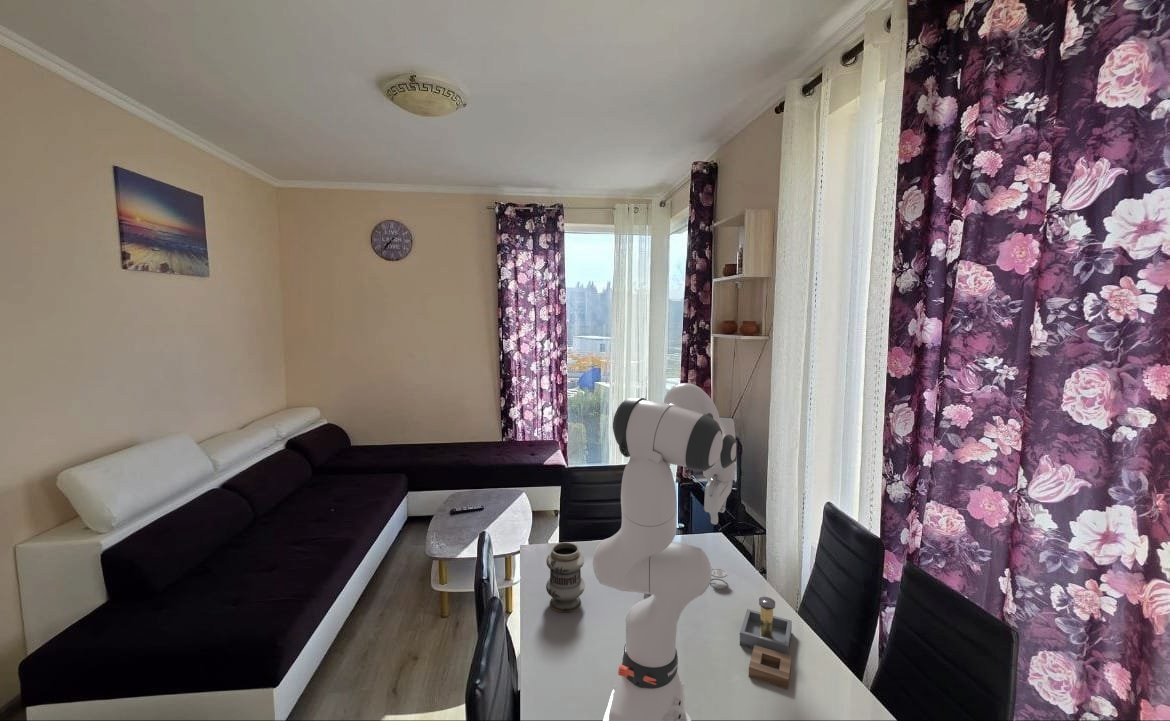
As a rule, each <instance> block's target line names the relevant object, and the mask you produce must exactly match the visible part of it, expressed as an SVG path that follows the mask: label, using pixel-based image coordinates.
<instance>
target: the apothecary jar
mask: <svg viewBox="0 0 1170 721" xmlns="http://www.w3.org/2000/svg"><path fill="white" fill-rule="evenodd" d="M545 561H546V566H547V567H548V569H549V573H550V574H549V576H550V577H549V578H548V580H547V582H546V584H545V585H546V586H545V588H546V592H547V594H548V595H549V597H551V599H550V601H549V606H550V608H551V609H552V610H553V611H555V612H558V613H566V612H568V613H572V612H575V611H577V610H578V609H580V608H581V606H582V600H581V598H580V596H581V595H582V594H583V593H584V591H585V589H586V585H585V581H584V578H582V576H581V574H582V573H581V568H582V567H583V566H584V565H585V564H584V563H585V556H584V555H583V553H582V552H581V551H580V548H579V546H578V544H576V543H573V542H571V541H570V542H568V541H566V542H565V541H564V542H559V543H557V544H554V545H553V546H552V548H551V550H550V553H548V555H547V557H546V560H545Z"/></svg>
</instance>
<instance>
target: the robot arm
mask: <svg viewBox="0 0 1170 721" xmlns="http://www.w3.org/2000/svg"><path fill="white" fill-rule="evenodd" d="M612 430H613V431H612V432H613V435H614V438H615V441H616V443H617V444H618V449H619V452H620V453H621V455H622V456H624V457H625V458H629V461H628V462H627V464H626V465H625V467H624V470H623V474H622V478H621V487H620V488H621V489H620V506H621V509H620V510H621V526H620V528H619V530H618V531H617V532H616V533H614V534H613V535H612V536H610V537H608V538H604V539H603V540H601V541H600V543H599V544H598V545H597V547H596V549H595V550H594V553H593V558H592V568H593V573H594V576H595V577H596V580H597V581H598V583H599V584H600V585H603V586H606V587H608V588H610V589H615V590H616V591H621V592H629V593H639V594H644V593H646V594H652V595H651V596H650V597H648V598H646V599H644V598H643V599H641V600H639V601H637V602H636V603H635V604H634V605H632V606H631V607H630V609H629V610H628V612H627V614H626V618H625V644H624V647H623V651H622V652H623V653H622V657H621V658H622V661H621V662H620V665H619V667H618V670H617V673H618V674H617V675H618V677H617V681H616V684H615V686H614V688H613V689H612V690H611V693H610V697H609V699H608V703H607V705H606V709H605V713H604V715H603V718H602V721H692V718H691V717H690V715H689V714H688V713H687V712H686V705H685V704H686V703H685V685H684V683H683V680H682V679H681V677H680V675H679V673H678V667H679V666H678V664H679V656H678V650H677V648H676V647H677V645H676V644H677V643H676V642H677V640H676V639H677V630H678V623H679V619H680V616H681V614H682V613H683V611H684V610H685V609H686V607H687V606H688V605H689V604H690V603H691V602H692V601H694V600H695V599H697V598H699V597H701V596H702V595H704V594H705V592H707V589H708V588H709V586H710V584H711V583H710V581H712V580H711V579H712V577H713V576H712V570H711V569H712V565H711V561H710V559H709V557H708V555H707V553H706V552H705V551H704V550H703V549H702V548H701V547H698V546H696V545H695V546H694V545H692V544H688V543H684V542H679V541H674V540H675V537H676V534H677V530H678V529H677V528H678V526H677V524H678V523H677V521H678V520H677V519H678V516H677V515H678V511H677V508H678V507H677V504H678V503H677V499H678V498H677V491H676V490H677V489H676V483H675V481H674V480H675V479H674V475H673V472H672V469H671V465H675V466H679V467H685V468H687V469H688V470H690V471H695V472H702V473H703V474H702V475H703V476H704V478H706V479H707V483H706V485H705V488H704V501H703V502H704V504H703V509H704V512H706V513H709V516H710V523H711V524H712V525H718V523H719V513H722V514H723V513H725V511H726V505H727V498H729V495H730V494H731V492H732V488H733V482H734V481H733V480H735V477H736V468H737V467H736V466H737V465H736V460H737V456H738V441H737V439H736V429H735V421H734V419H733V418H732V417H730V416H727V415H725V416H724V415H720V414H719V411H718V409H717V406H716V405H715V402H714V401H713V400H712V398H711V397H710V396H709V395H708V393H706V391H704V390H703V389H702V388H701V387H700V386H697V385H695V384H693V383H689V382H688V383H687V382H684V383H682V382H681V383H679V384H676V385H674V386H673V387H671V388H670V389H669V390H668V391H667V393H666V395H665V396H664V398H663V402H660V401H656V400H650V399H649V400H648V399H646V398H644V397H638V396H637V397H627V398H625V399H624V400H622V402H620V404H619V405H618V407H617V408H616V411H615V413H614V416H613V420H612Z"/></svg>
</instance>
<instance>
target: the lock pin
mask: <svg viewBox="0 0 1170 721" xmlns="http://www.w3.org/2000/svg"><path fill="white" fill-rule="evenodd" d="M758 605H759V606H760V612H761V615H760V636H762V637H766V638H769V639H772V631H773V616H774V609H775V608H776V601H775V599H773V598H771V597H769V596H761V597H759V598H758Z"/></svg>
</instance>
